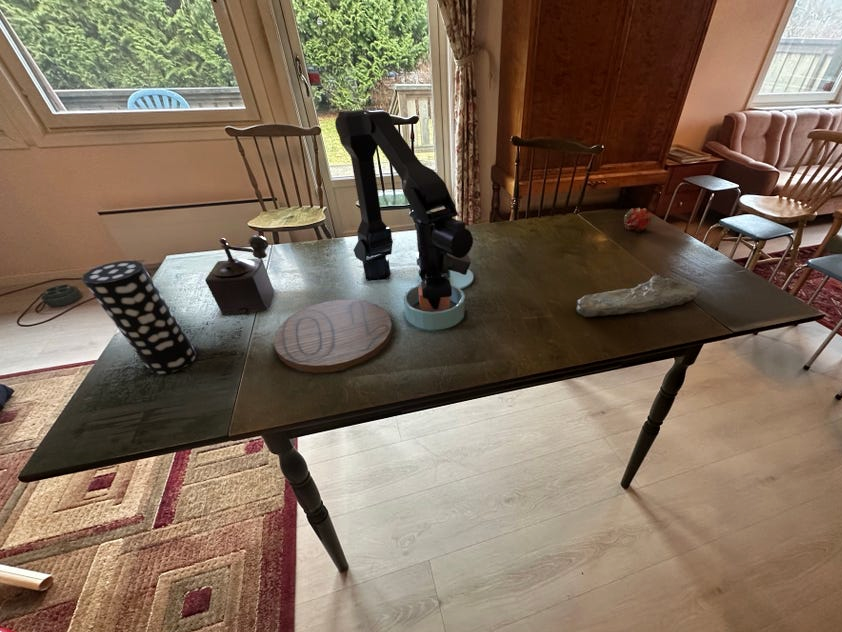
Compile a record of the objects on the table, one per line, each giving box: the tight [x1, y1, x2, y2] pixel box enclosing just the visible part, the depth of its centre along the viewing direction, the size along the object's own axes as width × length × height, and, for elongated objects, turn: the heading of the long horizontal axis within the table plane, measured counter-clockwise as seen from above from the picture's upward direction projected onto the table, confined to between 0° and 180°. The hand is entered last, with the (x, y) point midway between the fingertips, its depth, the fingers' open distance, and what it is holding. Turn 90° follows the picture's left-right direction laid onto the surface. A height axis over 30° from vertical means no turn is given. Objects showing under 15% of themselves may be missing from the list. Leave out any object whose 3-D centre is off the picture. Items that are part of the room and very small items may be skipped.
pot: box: [402, 283, 466, 331], centre depth 90 cm, size 14×14×5 cm
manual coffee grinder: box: [204, 235, 275, 316], centre depth 89 cm, size 16×11×18 cm
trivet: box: [273, 299, 393, 374], centre depth 84 cm, size 25×25×2 cm
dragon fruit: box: [622, 207, 652, 232], centre depth 135 cm, size 8×8×12 cm
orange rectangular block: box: [418, 287, 451, 312], centre depth 89 cm, size 7×4×5 cm, turn 102°
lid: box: [418, 268, 474, 290], centre depth 104 cm, size 15×15×5 cm
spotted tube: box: [81, 260, 198, 375], centre depth 70 cm, size 8×8×20 cm
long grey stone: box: [576, 275, 699, 318], centre depth 96 cm, size 35×5×10 cm
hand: (434, 304), depth 90 cm, fingers closed on orange rectangular block, 4 cm apart
